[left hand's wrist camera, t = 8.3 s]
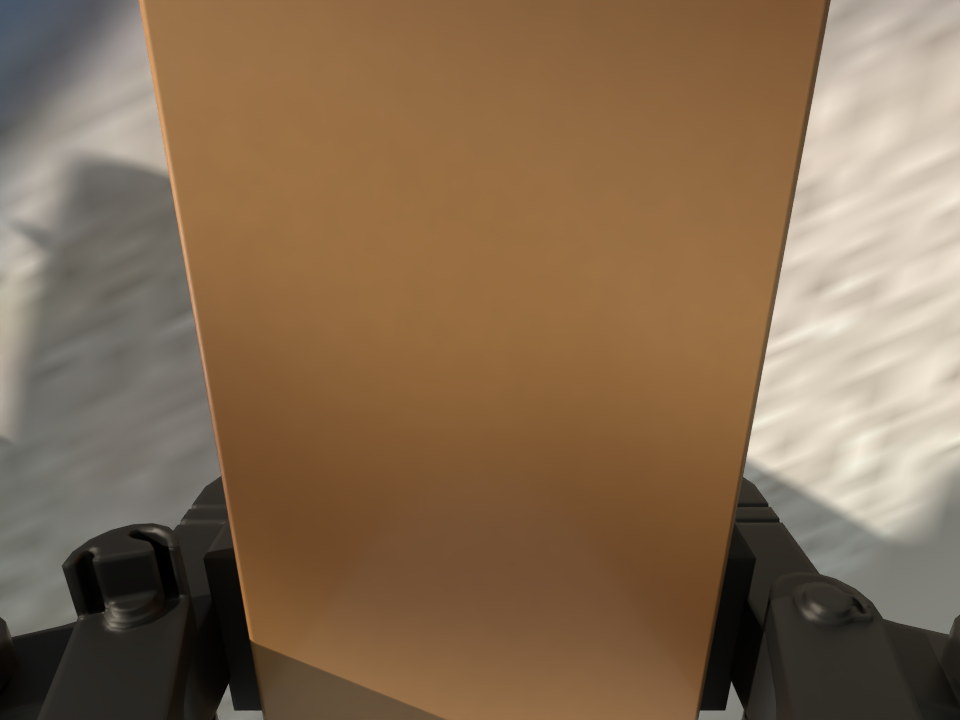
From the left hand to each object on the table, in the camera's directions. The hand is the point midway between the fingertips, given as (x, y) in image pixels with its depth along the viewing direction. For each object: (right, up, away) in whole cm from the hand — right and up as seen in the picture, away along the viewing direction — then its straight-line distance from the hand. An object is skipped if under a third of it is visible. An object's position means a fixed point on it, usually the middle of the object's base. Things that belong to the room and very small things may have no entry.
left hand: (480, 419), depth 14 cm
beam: (0, +33, -12) cm, 35 cm away
